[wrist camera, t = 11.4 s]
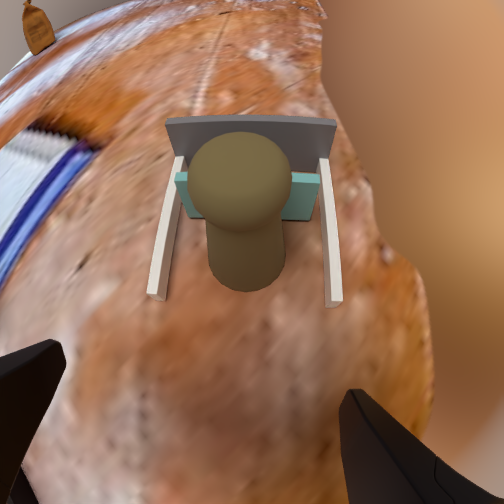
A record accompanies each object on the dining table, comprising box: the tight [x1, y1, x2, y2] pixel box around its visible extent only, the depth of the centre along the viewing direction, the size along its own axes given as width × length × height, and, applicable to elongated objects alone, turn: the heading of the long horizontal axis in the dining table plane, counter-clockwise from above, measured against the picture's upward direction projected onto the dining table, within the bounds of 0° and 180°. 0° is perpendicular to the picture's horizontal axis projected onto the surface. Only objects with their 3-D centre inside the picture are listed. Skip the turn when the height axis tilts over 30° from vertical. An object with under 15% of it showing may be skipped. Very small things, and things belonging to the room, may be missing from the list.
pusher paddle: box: [174, 172, 320, 220], centre depth 21 cm, size 1×10×5 cm, turn 88°
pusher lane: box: [147, 115, 343, 308], centre depth 21 cm, size 13×14×6 cm
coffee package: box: [22, 0, 55, 55], centre depth 44 cm, size 10×12×22 cm
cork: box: [187, 132, 292, 292], centre depth 17 cm, size 6×6×11 cm
